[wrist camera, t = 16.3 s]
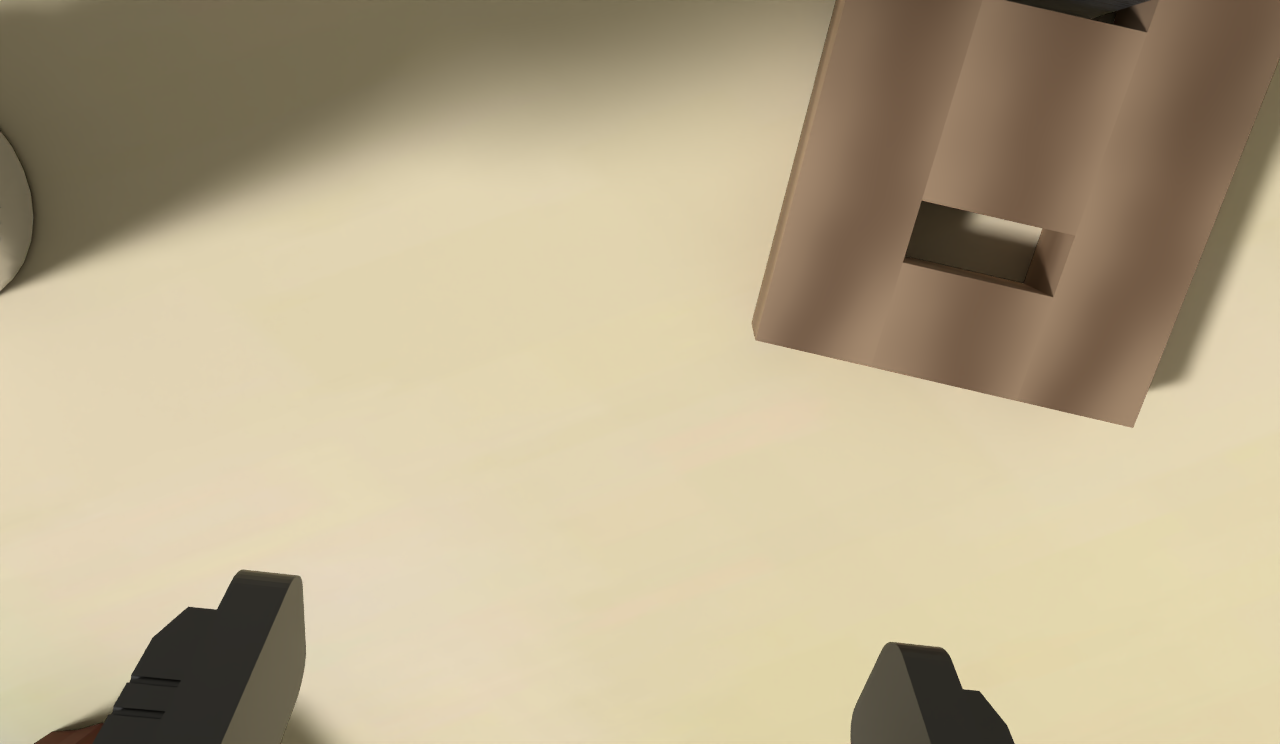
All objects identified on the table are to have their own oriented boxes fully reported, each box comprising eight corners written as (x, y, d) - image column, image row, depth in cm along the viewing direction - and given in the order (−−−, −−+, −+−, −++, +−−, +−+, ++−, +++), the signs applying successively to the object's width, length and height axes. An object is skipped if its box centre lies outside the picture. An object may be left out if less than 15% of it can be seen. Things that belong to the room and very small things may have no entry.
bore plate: (751, 323, 35) (755, 340, 32) (908, -280, 29) (930, -325, 26) (1097, 403, 35) (1133, 427, 32) (1323, -187, 29) (1391, -223, 26)
